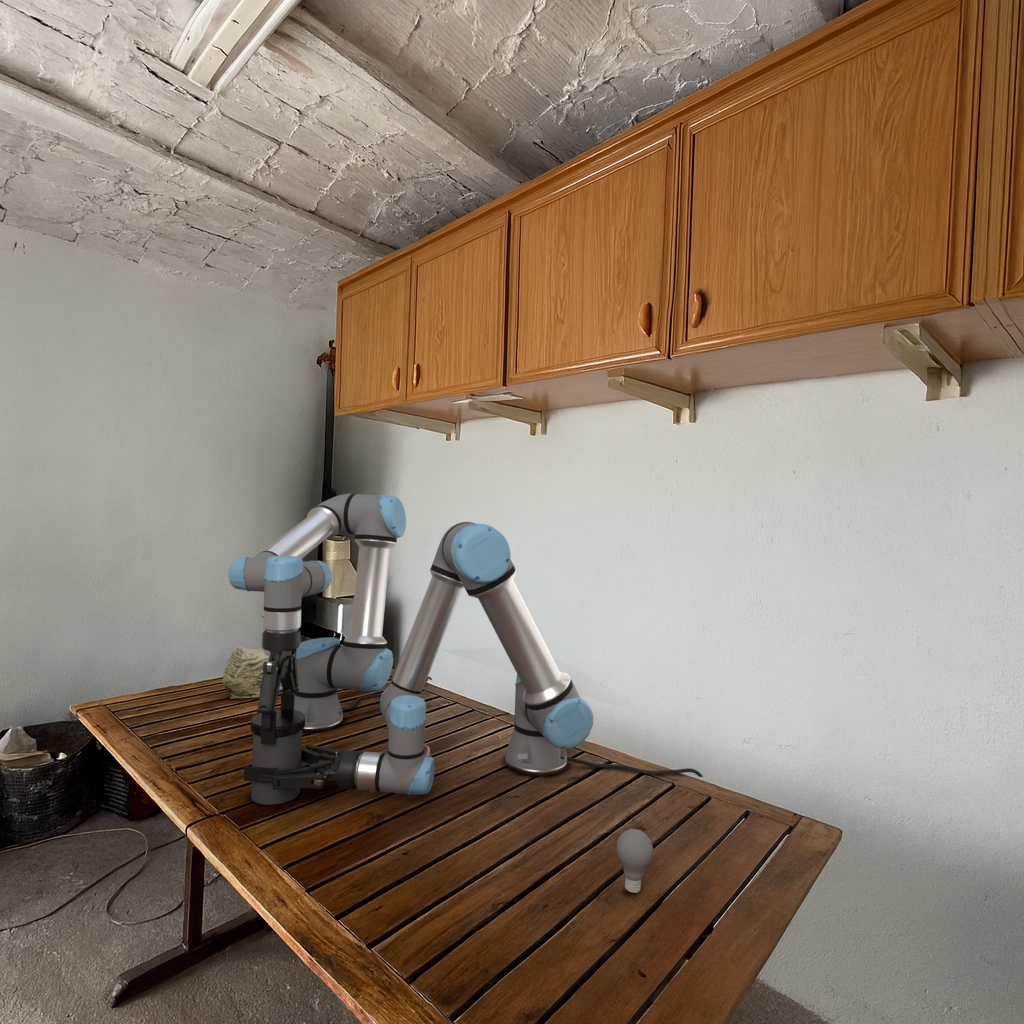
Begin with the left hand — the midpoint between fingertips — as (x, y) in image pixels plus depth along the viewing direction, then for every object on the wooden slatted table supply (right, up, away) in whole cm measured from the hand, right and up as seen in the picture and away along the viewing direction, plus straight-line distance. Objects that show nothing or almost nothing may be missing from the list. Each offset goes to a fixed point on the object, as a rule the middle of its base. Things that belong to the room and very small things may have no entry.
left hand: (277, 733), depth 134 cm
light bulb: (+70, -17, -28) cm, 77 cm away
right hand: (-5, -6, 0) cm, 8 cm away
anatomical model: (+23, -14, +16) cm, 31 cm away
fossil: (-31, -10, +64) cm, 72 cm away
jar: (-1, -13, 0) cm, 13 cm away
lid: (0, +3, 0) cm, 3 cm away
